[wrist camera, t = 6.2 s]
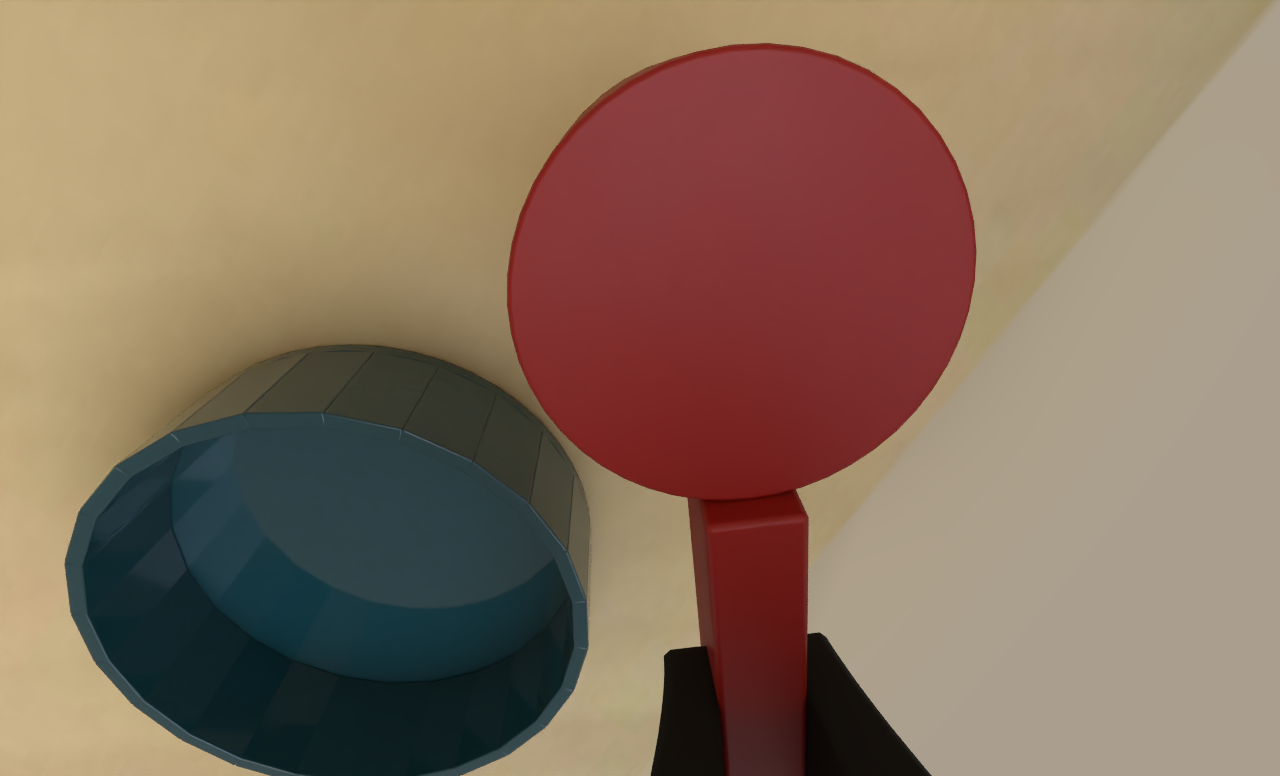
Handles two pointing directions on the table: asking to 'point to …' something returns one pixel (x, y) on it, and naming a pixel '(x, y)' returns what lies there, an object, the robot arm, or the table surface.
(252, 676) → the shallow teal bowl
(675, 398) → the spoon
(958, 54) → the table surface
